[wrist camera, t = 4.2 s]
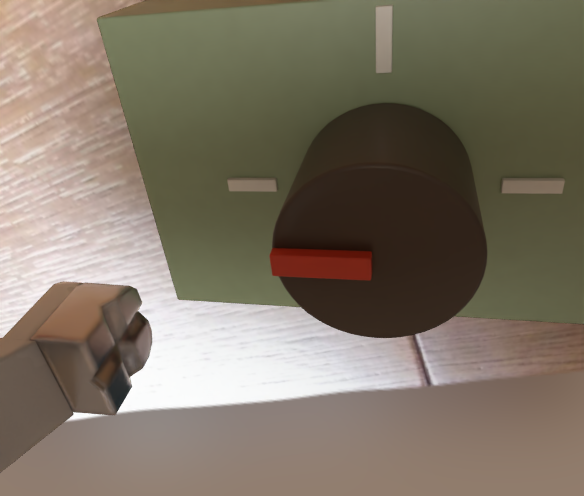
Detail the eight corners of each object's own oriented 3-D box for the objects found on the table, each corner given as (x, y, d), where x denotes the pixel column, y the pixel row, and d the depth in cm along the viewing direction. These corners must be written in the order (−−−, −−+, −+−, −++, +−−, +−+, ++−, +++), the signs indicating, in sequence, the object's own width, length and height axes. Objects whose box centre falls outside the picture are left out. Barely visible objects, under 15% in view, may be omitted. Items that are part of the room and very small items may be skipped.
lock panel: (698, -50, 12) (778, -36, 9) (603, 265, 16) (636, 331, 14) (148, -2, 15) (91, 19, 12) (207, 251, 20) (175, 303, 17)
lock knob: (481, 98, 11) (505, 170, 8) (463, 256, 14) (477, 356, 11) (294, 104, 12) (253, 171, 9) (308, 250, 15) (279, 341, 12)
